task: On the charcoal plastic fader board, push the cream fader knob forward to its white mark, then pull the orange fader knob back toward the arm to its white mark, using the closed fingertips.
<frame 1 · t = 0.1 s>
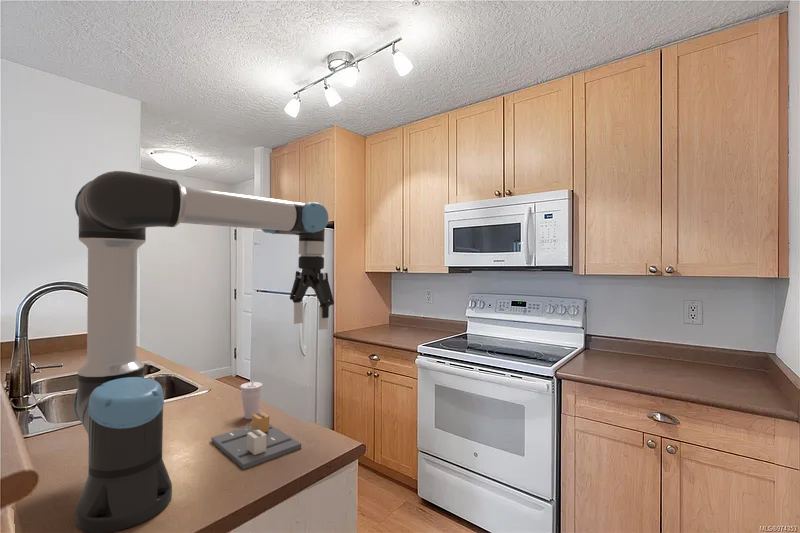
hand: (310, 326, 120), 28 cm above the counter, fingers open, 13 cm apart
fader board: (255, 444, 102), on the counter
orange fader: (260, 422, 108), point 4 cm above the counter, slide at 9.0 cm
cream fader: (256, 441, 97), point 4 cm above the counter, slide at 3.0 cm
smoothie: (251, 417, 121), on the counter
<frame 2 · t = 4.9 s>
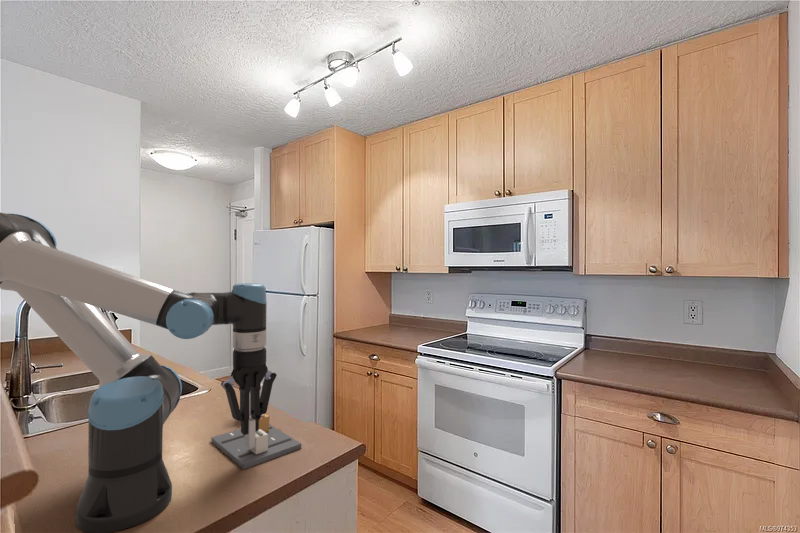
hand: (249, 445, 95), 3 cm above the counter, fingers closed
cream fader: (258, 440, 97), point 4 cm above the counter, slide at 3.4 cm, touching gripper
everything else where it was.
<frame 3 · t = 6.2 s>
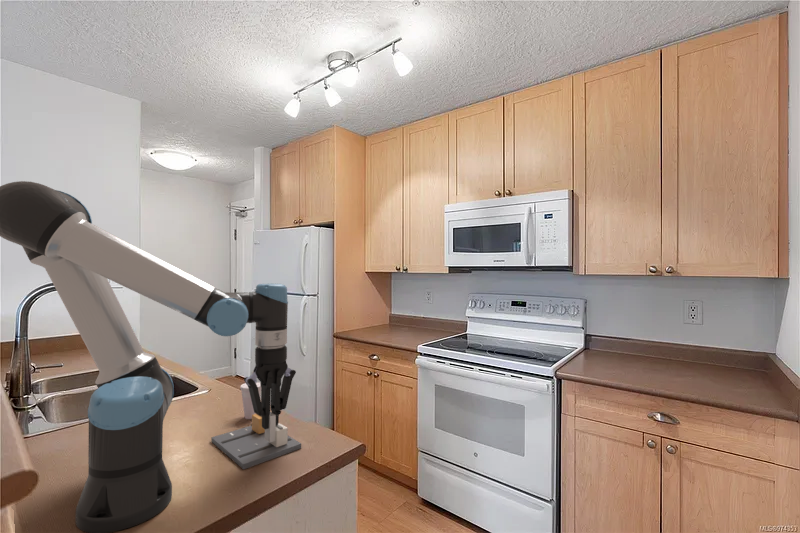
hand: (270, 439, 99), 3 cm above the counter, fingers closed
cream fader: (278, 434, 101), point 4 cm above the counter, slide at 8.7 cm, touching gripper
everything else where it was.
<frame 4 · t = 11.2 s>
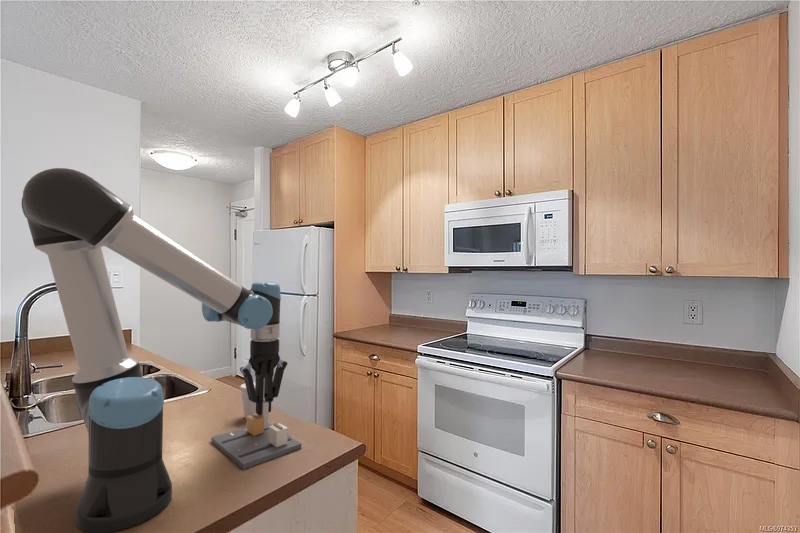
hand: (263, 425, 109), 3 cm above the counter, fingers closed
orange fader: (255, 423, 107), point 4 cm above the counter, slide at 7.5 cm, touching gripper
cream fader: (278, 434, 101), point 4 cm above the counter, slide at 8.7 cm
everything else where it was.
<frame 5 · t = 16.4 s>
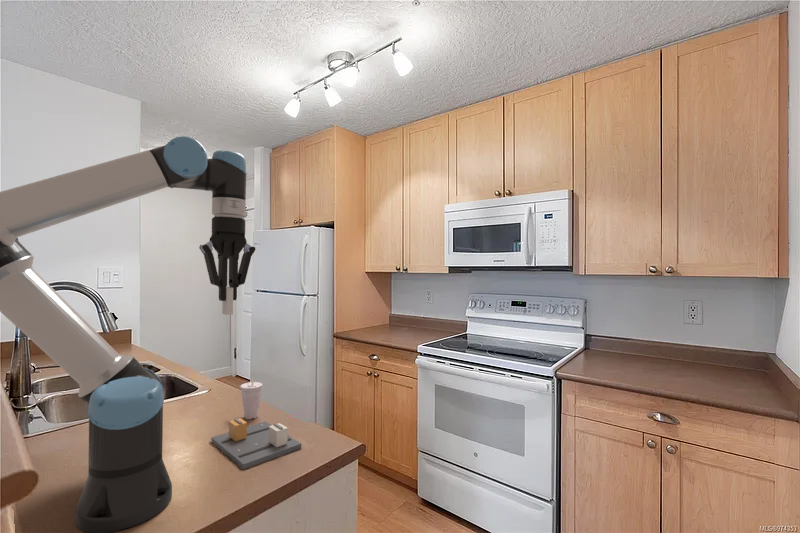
hand: (227, 313, 97), 34 cm above the counter, fingers closed
orange fader: (237, 428, 104), point 4 cm above the counter, slide at 2.8 cm
everything else where it was.
at the end: cream fader slide at 8.7 cm; orange fader slide at 2.8 cm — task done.
